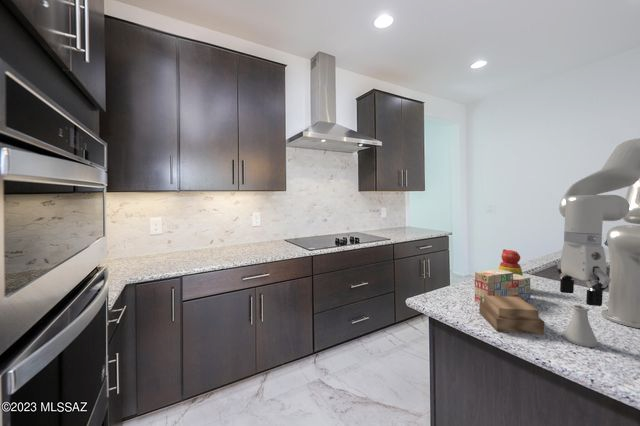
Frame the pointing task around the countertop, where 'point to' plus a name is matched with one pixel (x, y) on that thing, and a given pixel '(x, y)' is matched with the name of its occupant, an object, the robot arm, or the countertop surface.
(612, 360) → the countertop surface
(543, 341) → the countertop surface
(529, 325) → the stepped wooden pedestal
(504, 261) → the stacking bear
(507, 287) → the stack of blocks
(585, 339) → the flask
